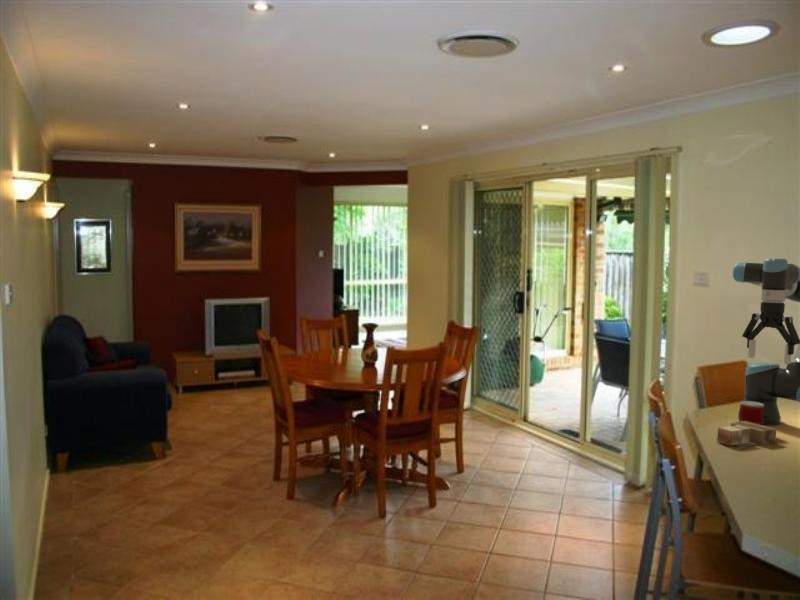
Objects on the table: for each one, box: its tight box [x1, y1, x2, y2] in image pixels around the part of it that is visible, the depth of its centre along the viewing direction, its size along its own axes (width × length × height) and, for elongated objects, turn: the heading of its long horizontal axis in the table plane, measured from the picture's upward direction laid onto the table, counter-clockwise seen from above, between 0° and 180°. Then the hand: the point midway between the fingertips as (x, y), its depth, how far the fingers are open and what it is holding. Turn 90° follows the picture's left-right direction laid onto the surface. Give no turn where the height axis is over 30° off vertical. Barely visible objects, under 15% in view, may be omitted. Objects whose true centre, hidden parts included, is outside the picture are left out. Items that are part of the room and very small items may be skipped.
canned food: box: [738, 400, 764, 426], centre depth 253 cm, size 8×8×11 cm
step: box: [730, 421, 777, 446], centre depth 243 cm, size 8×12×5 cm, turn 28°
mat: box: [736, 442, 758, 448], centre depth 239 cm, size 8×10×1 cm
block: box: [716, 425, 750, 446], centre depth 238 cm, size 5×5×10 cm
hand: (769, 360), depth 243 cm, fingers open, 13 cm apart
